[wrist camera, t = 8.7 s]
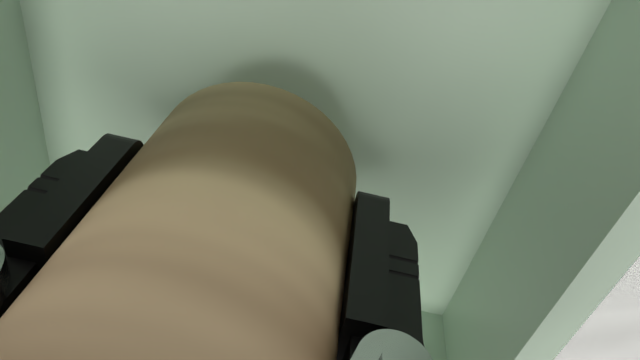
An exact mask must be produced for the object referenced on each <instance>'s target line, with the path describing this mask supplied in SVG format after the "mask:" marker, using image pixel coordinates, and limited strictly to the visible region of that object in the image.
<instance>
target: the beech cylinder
mask: <svg viewBox="0 0 640 360" xmlns="http://www.w3.org/2000/svg"><path fill="white" fill-rule="evenodd" d="M355 193H356V168H355V163H354V160H353V156H352V153H351V151H350V148H349V146H348V144H347V142H346V140H345V139H344V137H343V136H342V134H341V132H340V131H339V130H338V128H337V127H336V126H335V125H334V124H333V122H332V121H331V120H330V119H329V118H328V117H327V116H326V115H325V114H324V113H322V112H321V111H320V110H319V109H318V108H316V107H315V106H313V105H312V104H311V103H309V102H308V101H306V100H304V99H302V98H301V97H299V96H297V95H295V94H293V93H291V92H288V91H286V90H283V89H281V88H277V87H274V86H270V85H266V84H260V83H254V82H229V83H221V84H217V85H213V86H209V87H207V88H204V89H201V90H199V91H197V92H195V93H193V94H192V95H190V96H188V97H187V98H185V99H184V100H183V101H182V102H180V103H179V104H178V105H177V106H176V107H175V108H174V110H173V111H172V112H171V113H170V114H169V115H168V117H167V118H166V119H165V120H164V121H163V123H162V124H161V125H160V126H159V127H158V129H157V130H156V131H155V132H154V133H153V135H152V136H151V137H150V138H149V139H148V141H147V142H146V143H145V144H144V145H143V147H142V148H141V149H140V150H139V151H138V153H137V154H136V155H135V156H134V158H133V159H132V160H131V161H130V162H129V164H128V165H127V166H126V167H125V168H124V170H123V171H122V172H121V173H120V174H119V176H118V177H117V178H116V179H115V180H114V182H113V183H112V184H111V185H110V186H109V188H108V189H107V190H106V191H105V192H104V194H103V195H102V196H101V197H100V199H99V200H98V201H97V202H96V203H95V205H94V206H93V207H92V208H91V209H90V211H89V212H88V213H87V214H86V215H85V217H84V218H83V219H82V220H81V221H80V223H79V224H78V225H77V226H76V227H75V229H74V230H73V231H72V232H71V233H70V235H69V236H68V237H67V238H66V239H65V241H64V242H63V243H62V244H61V246H60V247H59V248H58V249H57V250H56V252H55V253H54V254H53V255H52V256H51V258H50V259H49V260H48V261H47V262H46V264H45V265H44V266H43V267H42V268H41V270H40V271H39V272H38V273H37V274H36V276H35V277H34V278H33V279H32V280H31V282H30V283H29V284H28V285H27V287H26V288H25V289H24V290H23V291H22V293H21V294H20V295H19V296H18V297H17V299H16V300H15V301H14V302H13V303H12V305H11V306H10V307H9V308H8V309H7V311H6V312H5V313H4V314H3V315H2V317H1V318H0V360H337V352H338V336H339V328H340V319H341V310H342V301H343V293H344V284H345V275H346V267H347V258H348V249H349V241H350V232H351V223H352V214H353V206H354V201H355Z"/></svg>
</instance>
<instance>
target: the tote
mask: <svg viewBox="0 0 640 360" xmlns="http://www.w3.org/2000/svg"><path fill="white" fill-rule="evenodd" d="M229 82H254V83H260V84H266V85H270V86H274V87H277V88H281V89H283V90H286V91H288V92H291V93H293V94H295V95H297V96H299V97H301V98H302V99H304V100H306V101H308V102H309V103H311V104H312V105H313V106H315V107H316V108H318V109H319V110H320V111H321V112H322V113H324V114H325V115H326V116H327V117H328V118H329V119H330V120H331V121H332V122H333V124H334V125H335V126H336V127H337V128H338V130H339V131H340V132H341V134H342V136H343V137H344V139H345V140H346V142H347V144H348V146H349V148H350V151H351V153H352V156H353V160H354V163H355V168H356V193H355V197H356V194H357V192H358V191H361V192H365V193H370V194H374V195H378V196H383V197H387V198H389V199H390V221H392V222H397V223H401V224H406V225H408V227H409V228H410V230H411V232H412V234H413V236H414V237H415V239H416V241H417V243H418V265H419V280H420V297H421V315H422V333H423V343H424V346H425V348H426V349H427V351H428V352H429V354H430V355H431V357H432V359H433V360H554V358H555V357H556V356H557V355H558V354H559V352H560V351H561V350H562V349H563V348H564V346H565V345H566V344H567V343H568V342H569V340H570V339H571V338H572V337H573V336H574V334H575V333H576V332H577V331H578V330H579V328H580V327H581V326H582V325H583V324H584V322H585V321H586V320H587V319H588V318H589V316H590V315H591V314H592V313H593V312H594V310H595V309H596V308H597V307H598V305H599V304H600V303H601V302H602V301H603V299H604V298H605V297H606V296H607V295H608V293H609V292H610V291H611V290H612V289H613V287H614V286H615V285H616V284H617V283H618V281H619V280H620V279H621V278H622V277H623V275H624V274H625V273H626V272H627V271H628V269H629V268H630V267H631V266H632V265H633V263H634V262H635V261H636V260H637V258H638V257H639V256H640V0H0V212H1V211H2V210H3V209H4V208H5V207H6V206H7V205H9V204H10V203H11V202H12V201H13V200H14V199H15V198H16V197H17V196H18V195H19V194H20V193H21V192H22V191H23V190H27V189H28V186H29V185H30V184H31V183H32V182H33V181H34V180H35V179H36V178H37V177H39V178H40V176H41V174H42V173H43V172H44V171H45V170H46V169H47V168H48V167H49V166H50V165H51V164H52V163H53V162H54V161H55V160H57V159H59V158H61V157H63V156H65V155H68V154H70V153H72V152H74V151H76V150H78V149H80V150H84V151H88V150H89V149H90V148H91V147H92V146H93V145H94V144H95V143H96V142H97V141H98V140H99V139H100V138H101V137H102V136H103V135H105V134H107V133H109V134H114V135H118V136H123V137H127V138H131V139H136V140H140V141H142V143H143V145H144V144H145V143H146V142H147V141H148V139H149V138H150V137H151V136H152V135H153V133H154V132H155V131H156V130H157V129H158V127H159V126H160V125H161V124H162V123H163V121H164V120H165V119H166V118H167V117H168V115H169V114H170V113H171V112H172V111H173V110H174V108H175V107H176V106H177V105H178V104H179V103H180V102H182V101H183V100H184V99H185V98H187V97H188V96H190V95H192V94H193V93H195V92H197V91H199V90H201V89H204V88H207V87H209V86H213V85H217V84H221V83H229Z"/></svg>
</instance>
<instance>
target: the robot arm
mask: <svg viewBox="0 0 640 360" xmlns="http://www.w3.org/2000/svg"><path fill="white" fill-rule="evenodd" d="M142 147H143V143H142V141H140V140H136V139H131V138H127V137H123V136H118V135H114V134H109V133H107V134H105V135H103V136H102V137H101V138H100V139H99V140H98V141H97V142H96V143H95V144H94V145H93V146H92V147H91V148H90V149H89V150H88V151H84V150H80V149H78V150H76V151H74V152H72V153H70V154H68V155H65V156H63V157H61V158H59V159H57V160H55V161H54V162H53V163H52V164H51V165H50V166H49V167H48V168H47V169H46V170H45V171H44V172H43V173H42V174H41V176H40V178H39V177H37V178H36V179H35V180H34V181H33V182H32V183H31V184H30V185H29V186H28V189H27V190H23V191H22V192H21V193H20V194H19V195H18V196H17V197H16V198H15V199H14V200H13V201H12V202H11V203H10V204H9V205H7V206H6V207H5V208H4V209H3V210H2V211H1V212H0V318H1V317H2V315H3V314H4V313H5V312H6V311H7V309H8V308H9V307H10V306H11V305H12V303H13V302H14V301H15V300H16V299H17V297H18V296H19V295H20V294H21V293H22V291H23V290H24V289H25V288H26V287H27V285H28V284H29V283H30V282H31V280H32V279H33V278H34V277H35V276H36V274H37V273H38V272H39V271H40V270H41V268H42V267H43V266H44V265H45V264H46V262H47V261H48V260H49V259H50V258H51V256H52V255H53V254H54V253H55V252H56V250H57V249H58V248H59V247H60V246H61V244H62V243H63V242H64V241H65V239H66V238H67V237H68V236H69V235H70V233H71V232H72V231H73V230H74V229H75V227H76V226H77V225H78V224H79V223H80V221H81V220H82V219H83V218H84V217H85V215H86V214H87V213H88V212H89V211H90V209H91V208H92V207H93V206H94V205H95V203H96V202H97V201H98V200H99V199H100V197H101V196H102V195H103V194H104V192H105V191H106V190H107V189H108V188H109V186H110V185H111V184H112V183H113V182H114V180H115V179H116V178H117V177H118V176H119V174H120V173H121V172H122V171H123V170H124V168H125V167H126V166H127V165H128V164H129V162H130V161H131V160H132V159H133V158H134V156H135V155H136V154H137V153H138V151H139V150H140V149H141V148H142ZM337 360H433V359H432V357H431V355H430V354H429V352H428V351H427V349H426V348H425V346H424V343H423V333H422V315H421V297H420V280H419V265H418V243H417V241H416V239H415V237H414V236H413V234H412V232H411V230H410V228H409V227H408V225H406V224H401V223H397V222H392V221H390V199H389V198H387V197H383V196H378V195H374V194H370V193H365V192H361V191H358V192H357V194H356V197H355V201H354V206H353V214H352V223H351V232H350V241H349V249H348V258H347V267H346V275H345V284H344V293H343V301H342V310H341V319H340V328H339V336H338V352H337Z"/></svg>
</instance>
